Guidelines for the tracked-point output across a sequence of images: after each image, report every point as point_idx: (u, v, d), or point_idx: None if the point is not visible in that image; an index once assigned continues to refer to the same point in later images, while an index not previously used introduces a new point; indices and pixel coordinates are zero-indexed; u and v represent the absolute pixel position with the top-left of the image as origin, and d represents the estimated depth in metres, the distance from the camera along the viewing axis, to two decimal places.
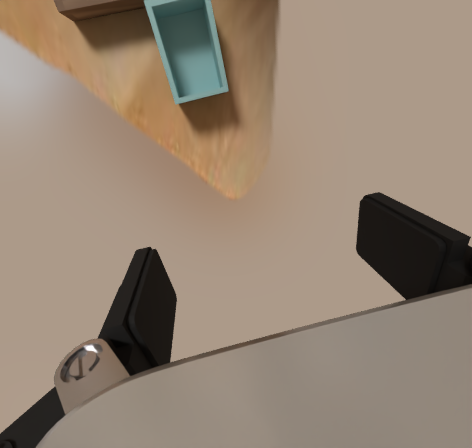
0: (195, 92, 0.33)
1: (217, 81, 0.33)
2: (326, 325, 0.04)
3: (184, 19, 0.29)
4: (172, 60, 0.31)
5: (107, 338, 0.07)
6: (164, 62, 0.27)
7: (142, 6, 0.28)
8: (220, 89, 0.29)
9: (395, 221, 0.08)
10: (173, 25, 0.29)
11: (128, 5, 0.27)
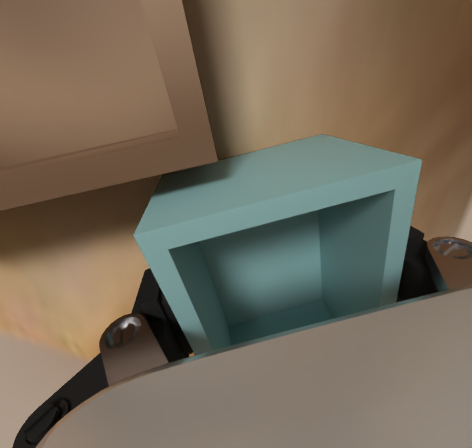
0: (264, 313, 0.14)
1: (319, 290, 0.13)
2: (326, 325, 0.04)
3: None
4: (216, 267, 0.12)
5: None
6: None
7: None
8: None
9: None
10: None
11: None
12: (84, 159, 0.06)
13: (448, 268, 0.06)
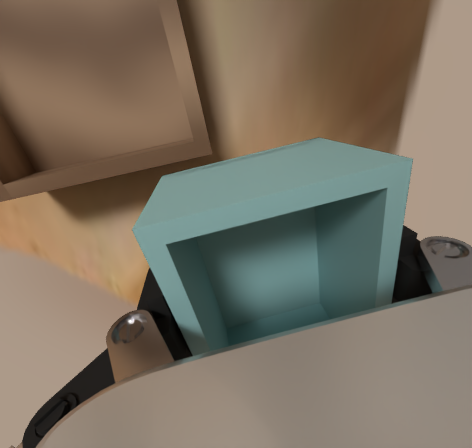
0: (262, 315, 0.14)
1: (316, 292, 0.13)
2: (326, 325, 0.04)
3: None
4: (214, 268, 0.12)
5: None
6: None
7: None
8: None
9: None
10: None
11: None
12: (148, 152, 0.12)
13: (441, 268, 0.06)
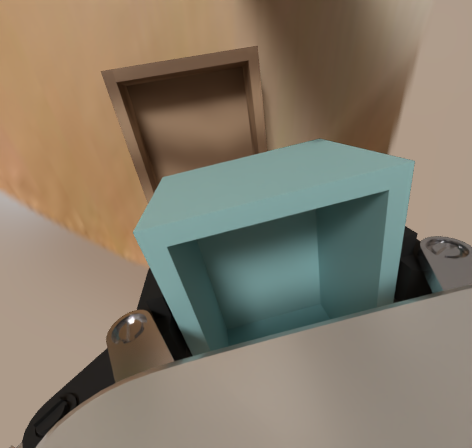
0: (262, 316, 0.14)
1: (317, 293, 0.13)
2: (326, 325, 0.04)
3: None
4: (214, 269, 0.12)
5: None
6: None
7: None
8: None
9: None
10: None
11: None
12: None
13: (441, 268, 0.06)
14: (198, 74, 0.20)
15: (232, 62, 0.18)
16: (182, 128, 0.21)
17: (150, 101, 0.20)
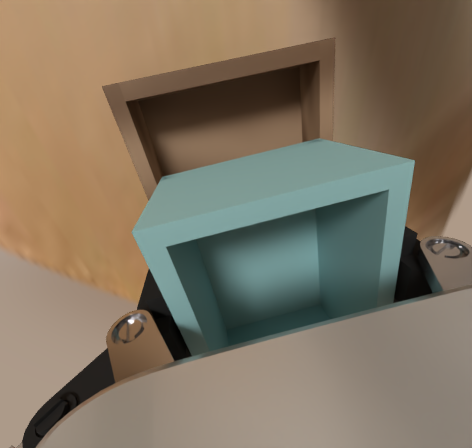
0: (262, 316, 0.14)
1: (317, 293, 0.13)
2: (326, 325, 0.04)
3: None
4: (214, 269, 0.12)
5: None
6: None
7: None
8: None
9: None
10: None
11: None
12: None
13: (441, 268, 0.06)
14: (238, 80, 0.14)
15: (295, 64, 0.12)
16: (213, 154, 0.16)
17: (171, 119, 0.14)
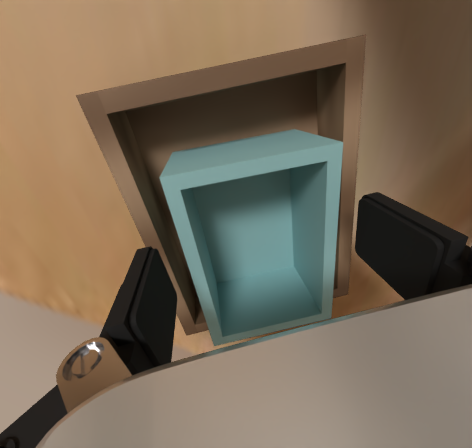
0: (246, 273, 0.17)
1: (291, 256, 0.17)
2: (326, 325, 0.04)
3: None
4: (209, 229, 0.15)
5: (109, 337, 0.07)
6: (199, 288, 0.11)
7: None
8: (314, 317, 0.13)
9: (393, 221, 0.08)
10: None
11: None
12: None
13: None
14: (244, 86, 0.12)
15: (316, 67, 0.10)
16: None
17: (165, 133, 0.12)
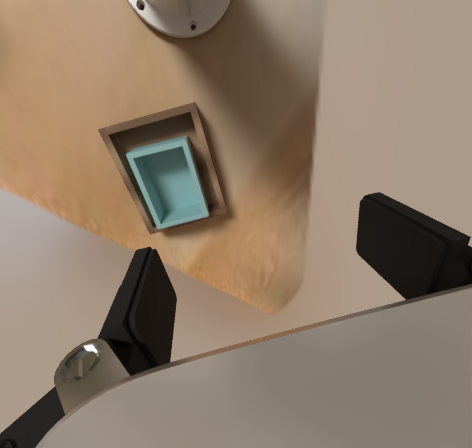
0: (179, 206, 0.34)
1: None
2: (326, 325, 0.04)
3: (167, 150, 0.31)
4: (156, 182, 0.32)
5: (107, 338, 0.07)
6: (146, 198, 0.29)
7: None
8: (200, 215, 0.31)
9: (395, 221, 0.08)
10: (156, 155, 0.31)
11: None
12: None
13: None
14: (161, 119, 0.29)
15: (180, 113, 0.27)
16: None
17: (132, 140, 0.30)
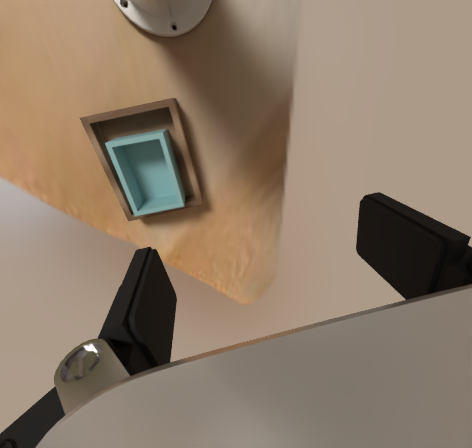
0: (157, 195, 0.36)
1: None
2: (326, 325, 0.04)
3: (147, 142, 0.32)
4: (136, 171, 0.34)
5: (107, 338, 0.07)
6: (124, 186, 0.30)
7: None
8: (176, 205, 0.33)
9: (395, 221, 0.08)
10: (136, 146, 0.32)
11: None
12: None
13: None
14: (142, 112, 0.31)
15: (159, 108, 0.29)
16: None
17: (114, 130, 0.32)
